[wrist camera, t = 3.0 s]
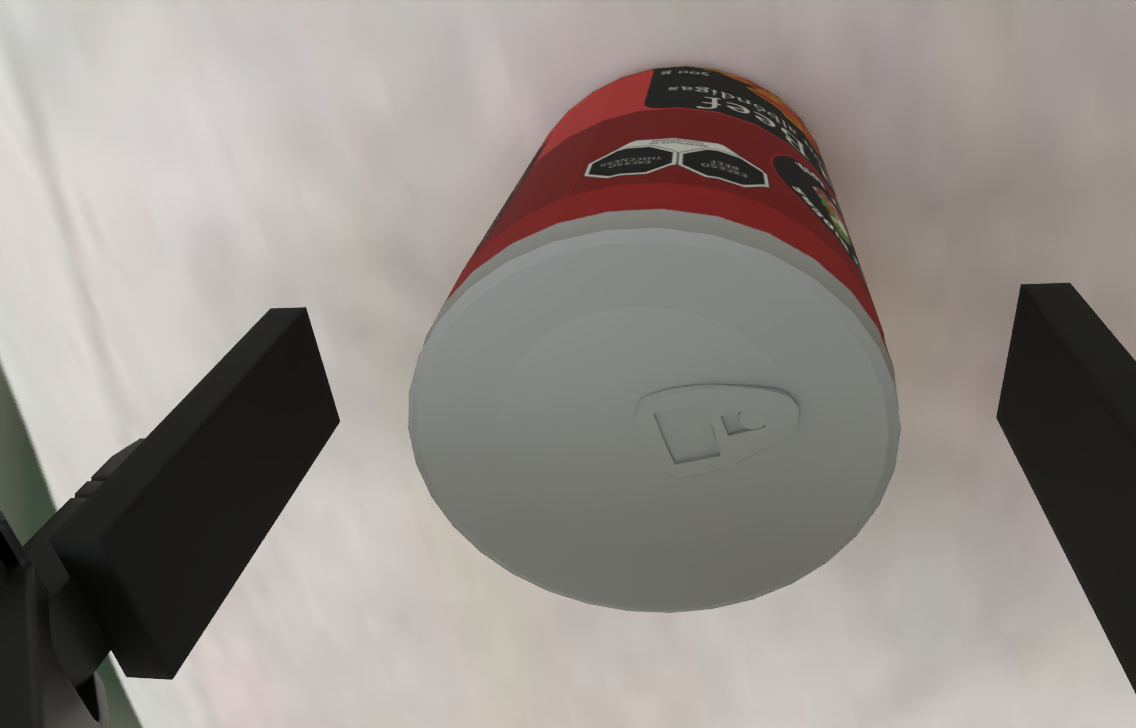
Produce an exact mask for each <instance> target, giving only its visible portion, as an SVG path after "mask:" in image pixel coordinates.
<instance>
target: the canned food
mask: <svg viewBox="0 0 1136 728" xmlns="http://www.w3.org/2000/svg"><path fill="white" fill-rule="evenodd" d="M898 409H899V408H898V400H897V391H896V383H895V374H894V367H893V364H892V361H891V358H890V355H889V352H888V349H887V346H886V343H885V339H884V333H883V330H882V327H881V324H880V321H879V318H878V316H877V313H876V310H875V307H874V304H873V301H872V298H871V296H870V293H869V290H868V287H867V284H866V281H865V278H864V276H863V273H862V270H861V267H860V264H859V261H858V258H857V256H856V253H855V250H854V247H853V244H852V241H851V238H850V235H849V233H848V230H847V227H846V224H845V221H844V218H843V215H842V213H841V210H840V207H839V204H838V201H837V198H836V195H835V193H834V190H833V187H832V184H831V181H830V178H829V175H828V173H827V170H826V167H825V164H824V162H823V159H822V157H821V154H820V152H819V149H818V147H817V144H816V141H815V140H814V139H813V137H812V136H811V134H810V133H809V131H808V130H807V128H806V127H805V125H804V124H803V123H802V121H801V120H800V118H799V117H798V116H797V115H796V114H795V113H794V112H793V111H792V110H791V109H789V108H788V107H787V106H786V105H785V104H784V103H783V102H782V101H781V100H780V99H779V98H778V97H776V96H775V95H773V94H771V93H770V92H768V91H766V90H765V89H763V88H761V87H760V86H758V85H756V84H754V83H753V82H751V81H749V80H746V79H743V78H740V77H737V76H734V75H731V74H728V73H725V72H722V71H719V70H712V69H704V68H695V67H687V66H684V67H671V68H659V69H651V70H647V71H644V72H640V73H637V74H633V75H629V76H626V77H622V78H620V79H618V80H616V81H614V82H612V83H610V84H608V85H606V86H604V87H602V88H600V89H598V90H596V91H594V92H592V93H591V94H590V95H589V96H587V97H586V98H585V99H583V100H582V101H581V102H580V103H578V104H577V105H576V106H574V107H573V108H572V109H570V110H569V111H568V112H567V113H566V115H565V116H564V117H563V118H562V119H561V120H560V121H559V123H558V124H557V125H556V126H555V127H554V128H553V130H552V131H551V132H550V133H549V134H548V136H547V138H546V139H545V141H544V142H543V144H542V146H541V147H540V149H539V150H538V152H537V154H536V155H535V157H534V158H533V160H532V161H531V163H530V165H529V166H528V168H527V169H526V171H525V173H524V174H523V176H522V177H521V179H520V181H519V182H518V184H517V185H516V187H515V189H514V190H513V192H512V193H511V195H510V196H509V198H508V200H507V201H506V203H505V204H504V206H503V208H502V209H501V211H500V212H499V214H498V216H497V217H496V219H495V220H494V222H493V223H492V225H491V227H490V228H489V230H488V231H487V233H486V235H485V236H484V238H483V239H482V241H481V243H480V244H479V246H478V247H477V249H476V251H475V252H474V254H473V255H472V257H471V258H470V260H469V262H468V263H467V265H466V266H465V268H464V270H463V271H462V273H461V275H460V276H459V278H458V280H457V282H456V284H455V285H454V287H453V289H452V291H451V293H450V294H449V296H448V298H447V300H446V302H445V303H444V305H443V307H442V309H441V310H440V312H439V314H438V316H437V318H436V319H435V321H434V323H433V325H432V327H431V328H430V330H429V332H428V334H427V336H426V338H425V342H424V345H423V349H422V351H421V353H420V355H419V358H418V362H417V365H416V369H415V373H414V376H413V380H412V384H411V387H410V391H409V425H408V429H409V433H410V438H411V442H412V447H413V451H414V456H415V461H416V464H417V466H418V469H419V471H420V473H421V475H422V477H423V479H424V481H425V484H426V486H427V488H428V490H429V492H430V494H431V496H432V498H433V499H434V501H435V502H436V503H437V505H438V506H439V507H440V509H441V510H442V511H443V513H444V514H445V515H446V517H447V518H448V520H449V521H450V522H451V524H452V525H453V526H454V527H455V528H456V529H457V530H458V531H459V532H460V533H461V534H462V535H463V536H464V537H465V538H466V539H467V540H469V541H470V542H471V543H472V544H473V545H474V546H475V547H476V548H477V549H478V550H479V551H480V552H481V553H483V554H484V555H486V556H487V557H489V558H490V559H492V560H493V561H495V562H496V563H498V564H499V565H500V566H502V567H503V568H505V569H506V570H508V571H509V572H511V573H512V574H514V575H516V576H518V577H520V578H522V579H524V580H527V581H529V582H531V583H533V584H535V585H537V586H539V587H541V588H543V589H545V590H547V591H550V592H553V593H556V594H559V595H562V596H565V597H568V598H572V599H575V600H578V601H581V602H584V603H587V604H593V605H598V606H604V607H609V608H615V609H621V610H626V611H643V612H666V613H672V612H683V611H694V610H705V609H714V608H718V607H722V606H726V605H731V604H735V603H739V602H743V601H748V600H752V599H755V598H757V597H760V596H762V595H765V594H767V593H770V592H772V591H775V590H777V589H780V588H782V587H785V586H787V585H790V584H792V583H794V582H795V581H797V580H799V579H800V578H802V577H804V576H805V575H807V574H808V573H810V572H812V571H813V570H815V569H817V568H818V567H820V566H822V565H823V564H825V563H826V562H828V561H829V560H830V559H831V558H832V557H833V556H834V555H835V554H837V553H838V552H839V551H840V550H841V549H842V548H843V547H844V546H846V545H847V544H848V543H849V542H850V541H851V540H852V539H853V538H855V537H856V536H857V534H858V533H859V531H860V530H861V529H862V527H863V526H864V525H865V523H866V522H867V521H868V519H869V518H870V517H871V515H872V514H873V513H874V511H875V510H876V508H877V507H878V506H879V504H880V502H881V500H882V497H883V495H884V493H885V490H886V488H887V486H888V483H889V481H890V479H891V476H892V474H893V472H894V469H895V463H896V457H897V450H898V444H899V437H900V430H901V429H900V420H899V412H898Z"/></svg>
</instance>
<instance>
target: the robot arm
mask: <svg viewBox="0 0 1136 728" xmlns="http://www.w3.org/2000/svg"><path fill="white" fill-rule="evenodd" d="M996 418H997V420H998V422H999V424H1000V426H1001V428H1002V430H1003V432H1004V434H1005V436H1006V438H1007V440H1008V442H1009V444H1010V446H1011V448H1012V450H1013V452H1014V454H1015V456H1016V458H1017V460H1018V462H1019V464H1020V465H1021V467H1022V469H1023V471H1024V473H1025V475H1026V477H1027V479H1028V481H1029V483H1030V485H1031V487H1032V489H1033V491H1034V493H1035V495H1036V497H1037V499H1038V501H1039V503H1040V505H1041V507H1042V509H1043V511H1044V513H1045V515H1046V517H1047V519H1048V521H1049V523H1050V525H1051V527H1052V529H1053V531H1054V533H1055V535H1056V537H1057V539H1058V541H1059V543H1060V545H1061V547H1062V549H1063V551H1064V553H1065V555H1066V557H1067V559H1068V561H1069V563H1070V564H1071V566H1072V568H1073V570H1074V572H1075V574H1076V576H1077V578H1078V580H1079V582H1080V584H1081V586H1082V588H1083V590H1084V592H1085V594H1086V596H1087V598H1088V600H1089V602H1090V604H1091V606H1092V608H1093V610H1094V612H1095V614H1096V616H1097V618H1098V620H1099V622H1100V624H1101V626H1102V628H1103V630H1104V632H1105V634H1106V636H1107V638H1108V640H1109V642H1110V644H1111V646H1112V648H1113V650H1114V652H1115V654H1116V656H1117V658H1118V660H1119V662H1120V663H1121V665H1122V667H1123V669H1124V671H1125V673H1126V675H1127V677H1128V679H1129V681H1130V683H1131V685H1132V687H1133V689H1134V691H1135V693H1136V361H1135V360H1134V359H1133V358H1132V356H1131V355H1130V354H1129V353H1128V352H1127V350H1126V349H1125V348H1124V347H1123V346H1122V344H1121V343H1120V342H1119V341H1118V340H1117V338H1116V337H1115V336H1114V335H1113V334H1112V332H1111V331H1110V330H1109V329H1108V328H1107V326H1106V325H1105V324H1104V323H1103V322H1102V320H1101V319H1100V318H1099V317H1098V316H1097V314H1096V313H1095V312H1094V311H1093V310H1092V308H1091V307H1090V306H1089V305H1088V304H1087V302H1086V301H1085V300H1084V299H1083V298H1082V296H1081V295H1080V294H1079V293H1078V292H1077V290H1076V289H1075V288H1074V287H1073V286H1072V284H1071V283H1048V284H1021V287H1020V293H1019V298H1018V303H1017V309H1016V314H1015V320H1014V325H1013V330H1012V336H1011V341H1010V346H1009V352H1008V357H1007V363H1006V368H1005V373H1004V379H1003V384H1002V390H1001V395H1000V400H999V406H998V411H997V417H996ZM339 422H340V419H339V416H338V412H337V409H336V406H335V402H334V399H333V396H332V392H331V389H330V386H329V382H328V379H327V376H326V372H325V369H324V366H323V362H322V359H321V356H320V352H319V349H318V346H317V342H316V339H315V336H314V332H313V329H312V326H311V322H310V319H309V316H308V312H307V309H306V307H303V308H272V309H270V310H269V311H268V312H267V313H266V314H265V315H264V316H263V317H262V318H261V319H260V320H259V321H258V322H257V323H256V324H255V325H254V326H253V327H252V328H251V329H250V330H249V331H248V332H247V333H246V335H245V336H244V337H243V338H242V339H241V340H240V341H239V342H238V343H237V344H236V345H235V346H234V347H233V348H232V349H231V350H230V351H229V352H228V353H227V354H226V355H225V356H224V357H223V358H222V359H221V360H220V362H219V363H218V364H217V365H216V366H215V367H214V368H213V369H212V370H211V371H210V372H209V373H208V374H207V375H206V376H205V377H204V378H203V379H202V380H201V381H200V382H199V383H198V384H197V385H196V386H195V387H194V389H193V390H192V391H191V392H190V393H189V394H188V395H187V396H186V397H185V398H184V399H183V400H182V401H181V402H180V403H179V404H178V405H177V406H176V407H175V408H174V409H173V410H172V411H171V412H170V413H169V415H168V416H167V417H166V418H165V419H164V420H163V421H162V422H161V423H160V424H159V425H158V426H157V427H156V428H155V429H154V430H153V431H152V432H151V433H150V434H149V435H148V436H147V437H146V438H145V439H139V440H137V441H136V442H134V443H132V444H131V445H129V446H128V447H126V448H125V449H123V450H121V451H120V452H118V453H117V454H115V455H114V456H112V457H111V458H110V459H109V460H108V461H107V462H106V463H105V464H104V465H103V466H102V467H101V468H100V469H99V470H98V471H97V472H96V473H95V474H94V475H93V476H92V477H91V478H92V480H91V481H87V482H86V483H85V484H84V485H83V486H82V487H81V488H80V489H79V490H78V491H77V492H76V493H75V498H70V499H69V500H68V501H67V502H66V503H65V504H64V505H63V506H62V507H61V508H60V509H59V510H58V511H57V512H56V513H55V515H53V517H52V518H51V519H50V520H49V521H48V522H47V523H46V524H45V525H44V526H43V527H42V528H41V529H40V530H39V531H38V532H37V533H36V534H35V535H34V536H33V537H32V538H31V539H30V540H29V541H28V542H27V543H26V544H25V545H24V546H23V547H22V545H21V543H20V542H19V540H18V538H17V537H16V535H15V533H14V531H13V530H12V528H11V526H10V525H9V523H8V521H7V520H6V518H5V516H4V515H3V513H2V511H0V728H111V724H110V718H109V711H108V705H107V699H106V692H105V686H104V685H103V683H102V681H101V679H100V677H99V676H98V674H97V672H96V669H97V668H98V667H99V665H100V664H101V663H102V661H103V660H104V659H105V657H106V656H107V655H108V653H109V652H110V651H112V652H113V654H114V656H115V658H116V659H117V661H118V663H119V665H120V666H121V668H122V670H123V672H124V674H125V675H126V677H135V678H153V679H171V680H173V678H174V676H175V675H176V673H177V672H178V670H179V669H180V667H181V666H182V664H183V663H184V661H185V660H186V658H187V656H188V655H189V653H190V652H191V650H192V649H193V647H194V646H195V644H196V643H197V641H198V640H199V638H200V636H201V635H202V633H203V632H204V630H205V629H206V627H207V626H208V624H209V623H210V621H211V619H212V618H213V616H214V615H215V613H216V612H217V610H218V609H219V607H220V606H221V604H222V603H223V601H224V599H225V598H226V596H227V595H228V593H229V592H230V590H231V589H232V587H233V586H234V584H235V583H236V581H237V579H238V578H239V576H240V575H241V573H242V572H243V570H244V569H245V567H246V566H247V564H248V563H249V561H250V559H251V558H252V556H253V555H254V553H255V552H256V550H257V549H258V547H259V546H260V544H261V543H262V541H263V539H264V538H265V536H266V535H267V533H268V532H269V530H270V529H271V527H272V526H273V524H274V523H275V521H276V519H277V518H278V516H279V515H280V513H281V512H282V510H283V509H284V507H285V506H286V504H287V503H288V501H289V499H290V498H291V496H292V495H293V493H294V492H295V490H296V489H297V487H298V486H299V484H300V482H301V481H302V479H303V478H304V476H305V475H306V473H307V472H308V470H309V469H310V467H311V466H312V464H313V462H314V461H315V459H316V458H317V456H318V455H319V453H320V452H321V450H322V449H323V447H324V446H325V444H326V442H327V441H328V439H329V438H330V436H331V435H332V433H333V432H334V430H335V429H336V427H337V426H338V424H339Z"/></svg>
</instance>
